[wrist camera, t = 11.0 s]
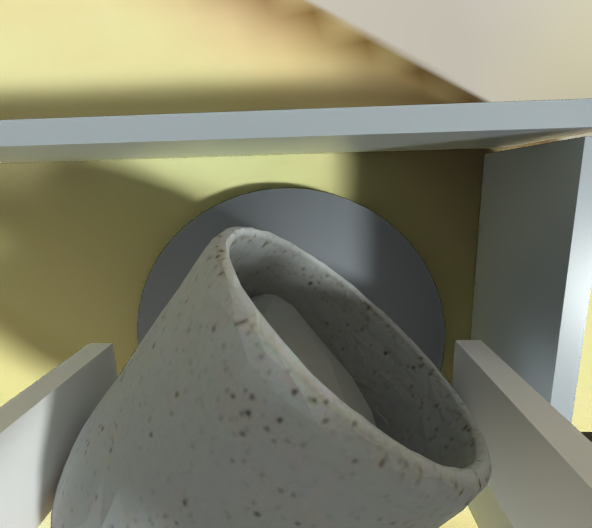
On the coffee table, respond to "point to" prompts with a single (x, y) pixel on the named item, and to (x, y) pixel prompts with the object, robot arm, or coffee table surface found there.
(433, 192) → the coffee table surface
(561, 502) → the robot arm
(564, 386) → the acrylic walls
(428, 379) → the ceramic mug
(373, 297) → the slate coaster
